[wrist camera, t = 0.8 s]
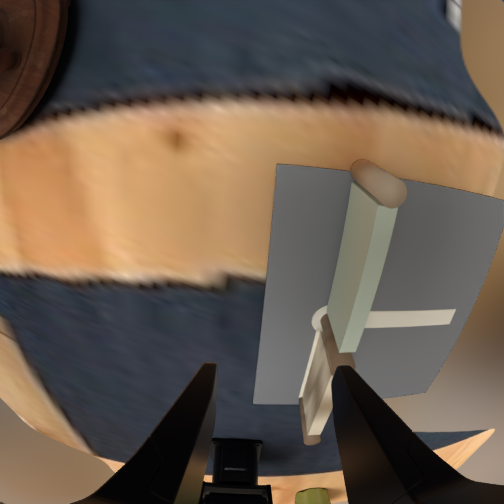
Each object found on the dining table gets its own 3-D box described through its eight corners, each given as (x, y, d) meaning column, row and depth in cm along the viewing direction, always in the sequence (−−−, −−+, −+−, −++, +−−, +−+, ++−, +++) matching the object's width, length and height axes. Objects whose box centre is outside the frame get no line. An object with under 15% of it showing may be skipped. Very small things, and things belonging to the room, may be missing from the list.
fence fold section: (343, 310, 24) (359, 355, 19) (323, 310, 24) (337, 355, 19) (375, 161, 18) (409, 180, 14) (352, 157, 18) (382, 176, 14)
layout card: (425, 391, 31) (426, 392, 30) (253, 402, 30) (253, 404, 30) (509, 201, 20) (511, 202, 19) (276, 163, 19) (277, 164, 19)
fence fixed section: (312, 402, 30) (318, 446, 25) (297, 403, 30) (302, 447, 25) (340, 311, 24) (358, 361, 19) (322, 311, 24) (336, 361, 19)
